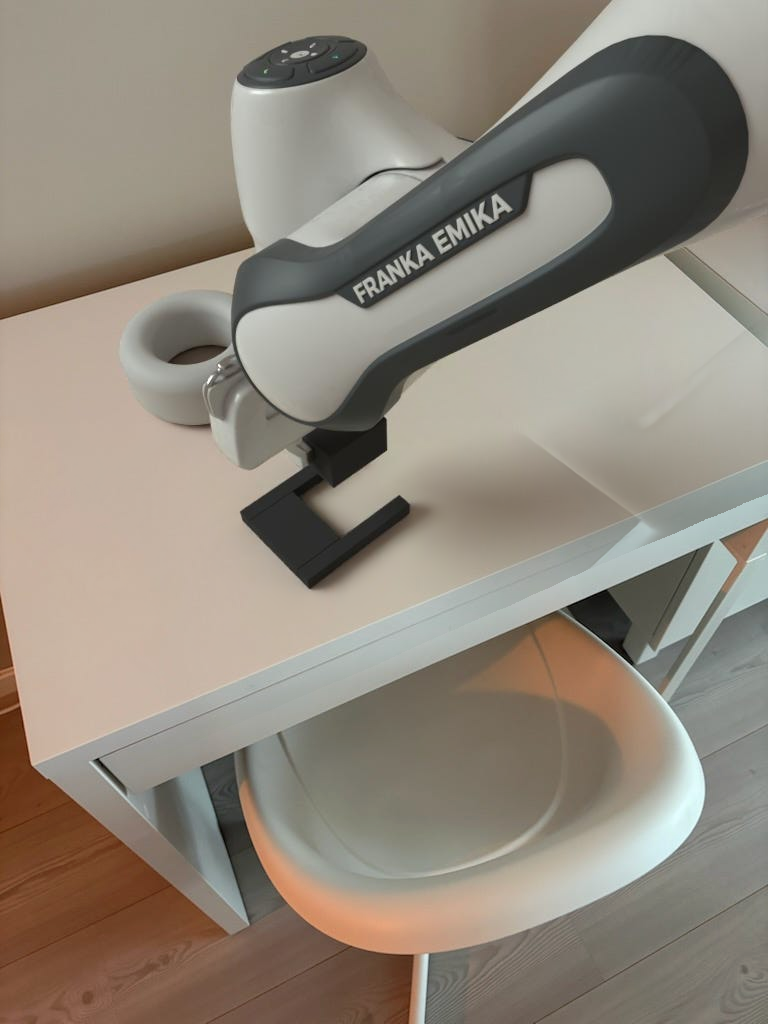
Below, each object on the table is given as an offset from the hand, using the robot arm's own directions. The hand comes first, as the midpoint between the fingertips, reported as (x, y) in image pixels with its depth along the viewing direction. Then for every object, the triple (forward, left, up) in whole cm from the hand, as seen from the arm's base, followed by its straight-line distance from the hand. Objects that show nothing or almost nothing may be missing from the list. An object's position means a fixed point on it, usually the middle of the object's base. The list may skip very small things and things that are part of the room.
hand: (337, 437), depth 63 cm
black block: (0, 0, -2) cm, 2 cm away
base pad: (0, +2, -10) cm, 10 cm away
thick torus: (+23, 0, -10) cm, 25 cm away
